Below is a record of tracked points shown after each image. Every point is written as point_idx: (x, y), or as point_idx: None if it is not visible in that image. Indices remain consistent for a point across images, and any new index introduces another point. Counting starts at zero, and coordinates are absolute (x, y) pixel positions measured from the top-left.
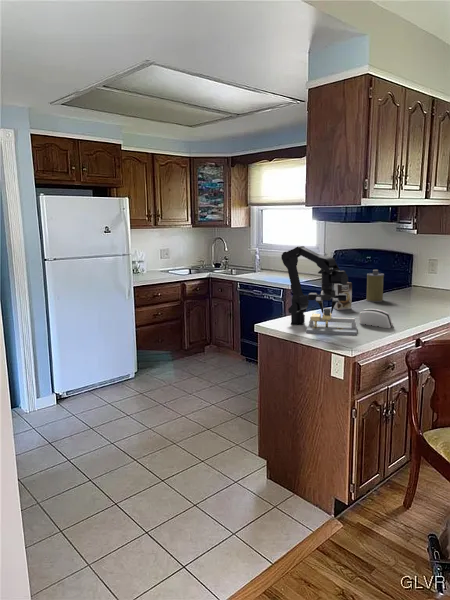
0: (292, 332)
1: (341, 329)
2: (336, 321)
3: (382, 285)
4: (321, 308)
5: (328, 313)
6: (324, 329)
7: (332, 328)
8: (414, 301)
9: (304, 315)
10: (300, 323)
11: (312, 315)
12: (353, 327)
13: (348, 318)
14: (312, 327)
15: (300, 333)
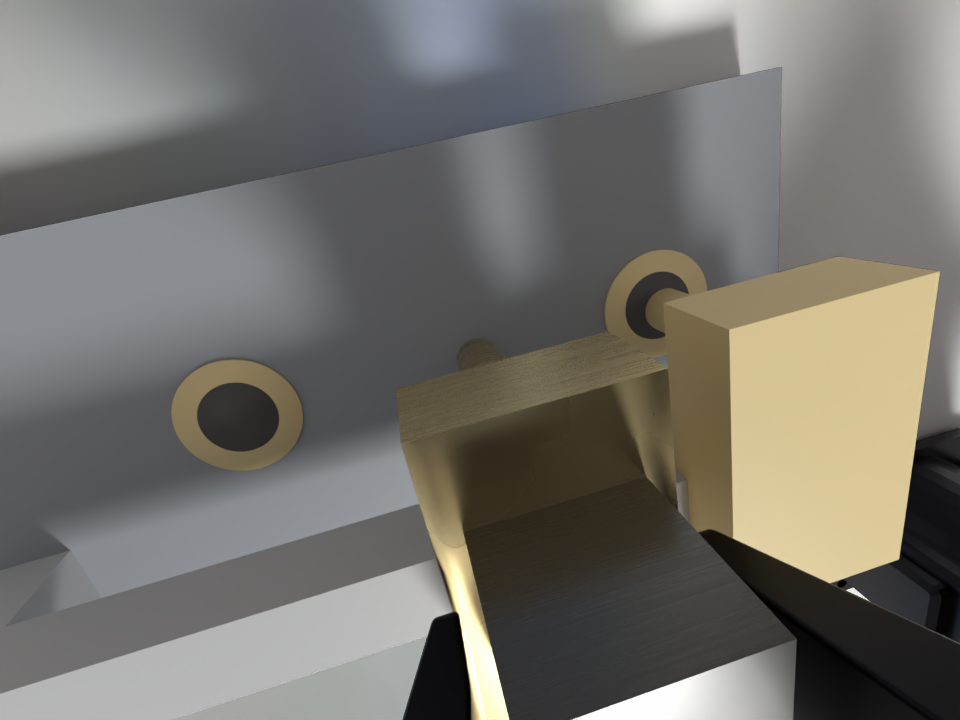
0: (944, 26)
1: (184, 369)
2: (330, 540)
3: None
4: (906, 643)
5: (522, 554)
6: (481, 239)
7: (369, 365)
8: None
9: (919, 621)
10: None
11: (908, 397)
12: (30, 564)
13: (45, 715)
14: (703, 277)
15: (825, 7)
